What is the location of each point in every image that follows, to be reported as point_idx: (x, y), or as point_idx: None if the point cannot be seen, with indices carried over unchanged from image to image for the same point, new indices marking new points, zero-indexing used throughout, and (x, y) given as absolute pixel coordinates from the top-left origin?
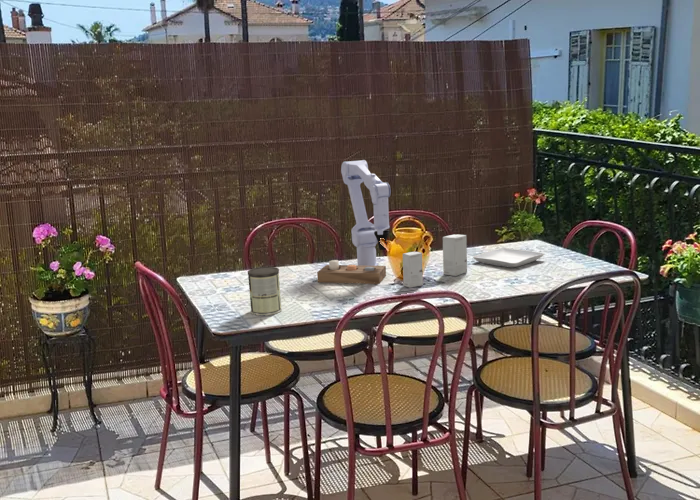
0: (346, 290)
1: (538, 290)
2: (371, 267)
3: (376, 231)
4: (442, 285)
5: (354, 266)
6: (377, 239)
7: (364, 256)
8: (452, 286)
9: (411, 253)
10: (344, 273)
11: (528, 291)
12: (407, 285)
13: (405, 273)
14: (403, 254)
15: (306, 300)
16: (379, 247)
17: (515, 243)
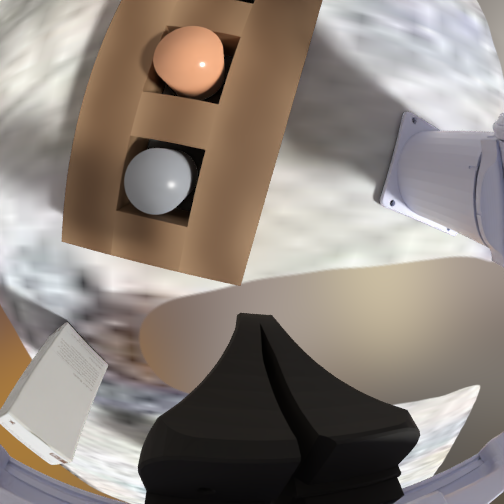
0: (20, 93)
1: (102, 490)
2: (163, 195)
3: (378, 450)
4: (96, 413)
5: (159, 75)
6: (204, 381)
7: (438, 166)
8: (92, 426)
9: (21, 437)
10: (106, 38)
11: (93, 482)
12: (53, 333)
13: (38, 356)
14: (6, 410)
15: None
16: (237, 325)
17: (433, 470)
